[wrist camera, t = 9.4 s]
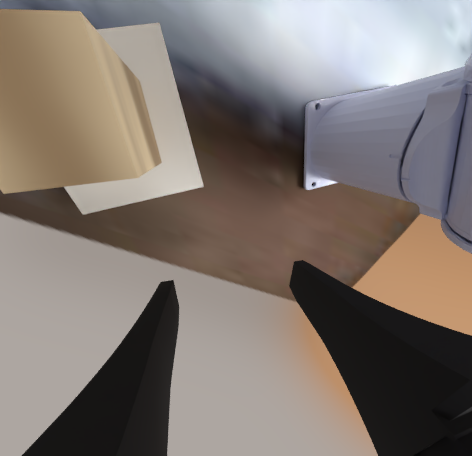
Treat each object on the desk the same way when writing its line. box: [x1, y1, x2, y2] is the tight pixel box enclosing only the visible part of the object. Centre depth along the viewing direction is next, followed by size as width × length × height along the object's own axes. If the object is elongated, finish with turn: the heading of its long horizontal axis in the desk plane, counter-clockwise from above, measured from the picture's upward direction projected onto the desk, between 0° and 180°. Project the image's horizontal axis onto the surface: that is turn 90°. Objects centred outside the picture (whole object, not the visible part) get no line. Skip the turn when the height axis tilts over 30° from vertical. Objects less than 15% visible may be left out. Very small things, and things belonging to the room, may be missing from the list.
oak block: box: [0, 9, 162, 194], centre depth 8 cm, size 4×4×6 cm
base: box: [64, 23, 204, 215], centre depth 12 cm, size 9×9×3 cm
